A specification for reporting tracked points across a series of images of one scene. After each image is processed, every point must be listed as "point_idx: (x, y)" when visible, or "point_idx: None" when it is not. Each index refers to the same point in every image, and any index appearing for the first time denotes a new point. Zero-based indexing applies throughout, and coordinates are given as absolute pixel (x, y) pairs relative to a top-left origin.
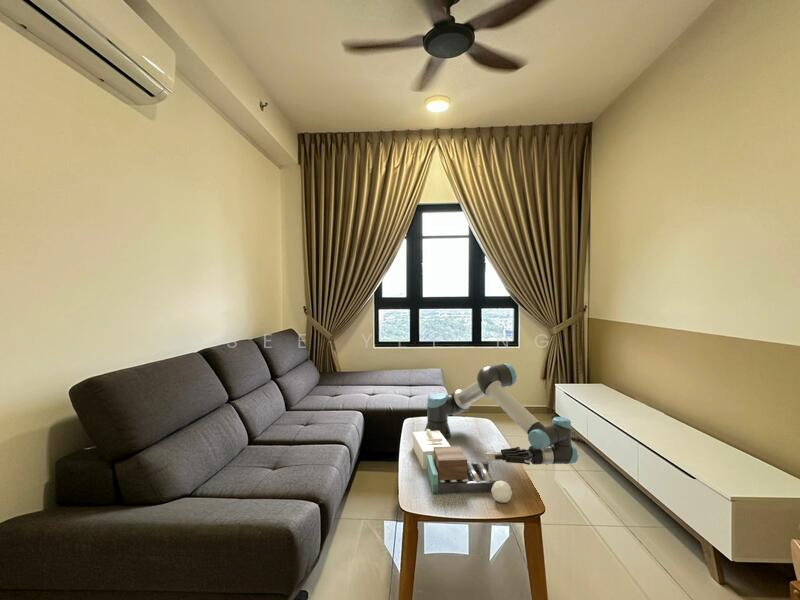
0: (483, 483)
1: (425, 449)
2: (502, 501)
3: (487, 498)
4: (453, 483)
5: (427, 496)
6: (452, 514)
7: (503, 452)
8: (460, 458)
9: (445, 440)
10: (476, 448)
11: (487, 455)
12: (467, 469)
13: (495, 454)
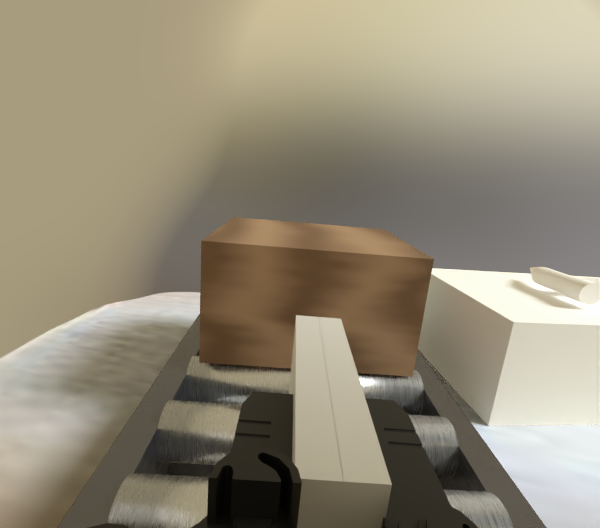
0: (119, 440)
1: (445, 272)
2: None
3: (27, 504)
4: (192, 328)
5: None
6: (43, 342)
7: (267, 469)
8: (231, 235)
9: None
10: None
11: (294, 336)
12: None
13: (295, 389)
